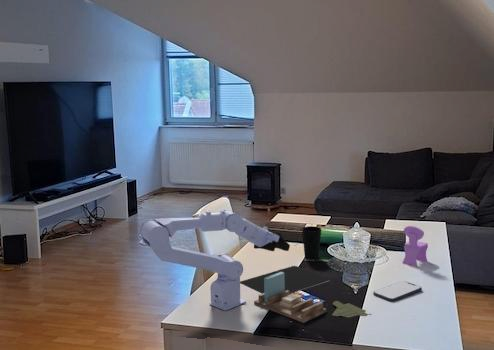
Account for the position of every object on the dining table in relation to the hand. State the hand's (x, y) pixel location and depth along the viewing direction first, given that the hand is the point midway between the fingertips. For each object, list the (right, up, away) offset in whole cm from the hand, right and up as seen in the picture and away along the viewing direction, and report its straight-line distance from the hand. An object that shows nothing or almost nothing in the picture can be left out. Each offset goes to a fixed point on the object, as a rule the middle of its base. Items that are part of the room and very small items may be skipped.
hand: (281, 248), depth 196 cm
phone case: (+39, -15, 0) cm, 42 cm away
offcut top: (+3, -15, -11) cm, 19 cm away
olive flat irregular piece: (+21, -19, -17) cm, 32 cm away
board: (-3, -16, -6) cm, 17 cm away
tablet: (+2, -14, +12) cm, 19 cm away
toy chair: (+54, -9, +30) cm, 62 cm away
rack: (+2, -18, -11) cm, 21 cm away
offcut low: (+2, -17, -11) cm, 20 cm away
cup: (+14, -9, +38) cm, 41 cm away
